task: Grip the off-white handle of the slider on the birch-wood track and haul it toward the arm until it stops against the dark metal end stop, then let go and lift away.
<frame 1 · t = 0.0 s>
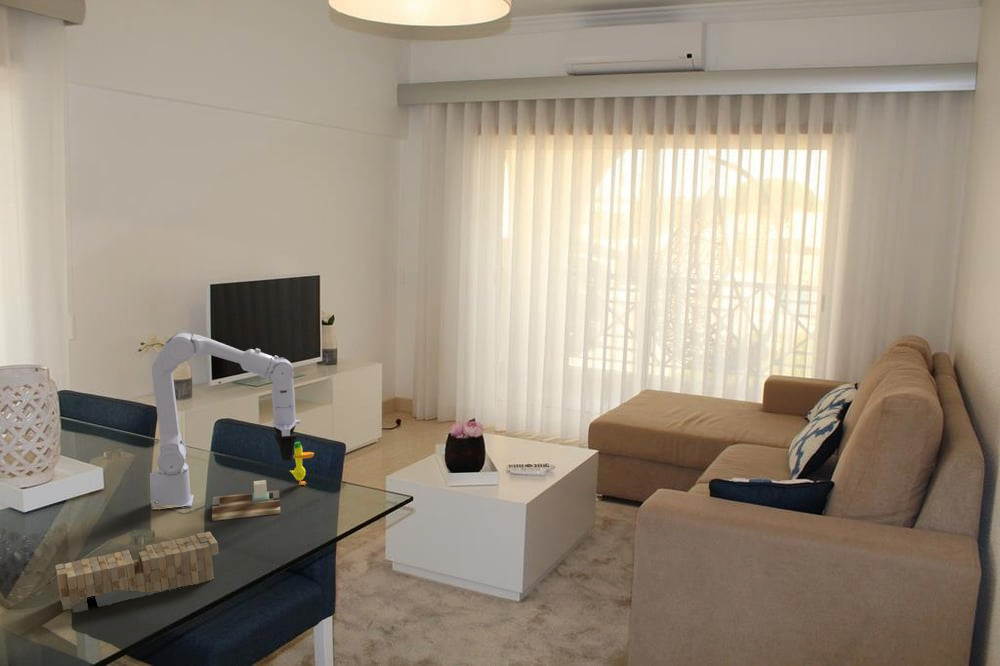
hand: (286, 455, 222), 10 cm above the table, tool pointing down, fingers open, 7 cm apart
toy figure: (303, 485, 229), on the table
track: (247, 508, 212), on the table
slider: (260, 492, 212), point 4 cm above the table, slide at 3.5 cm
block tower: (142, 591, 169), on the table
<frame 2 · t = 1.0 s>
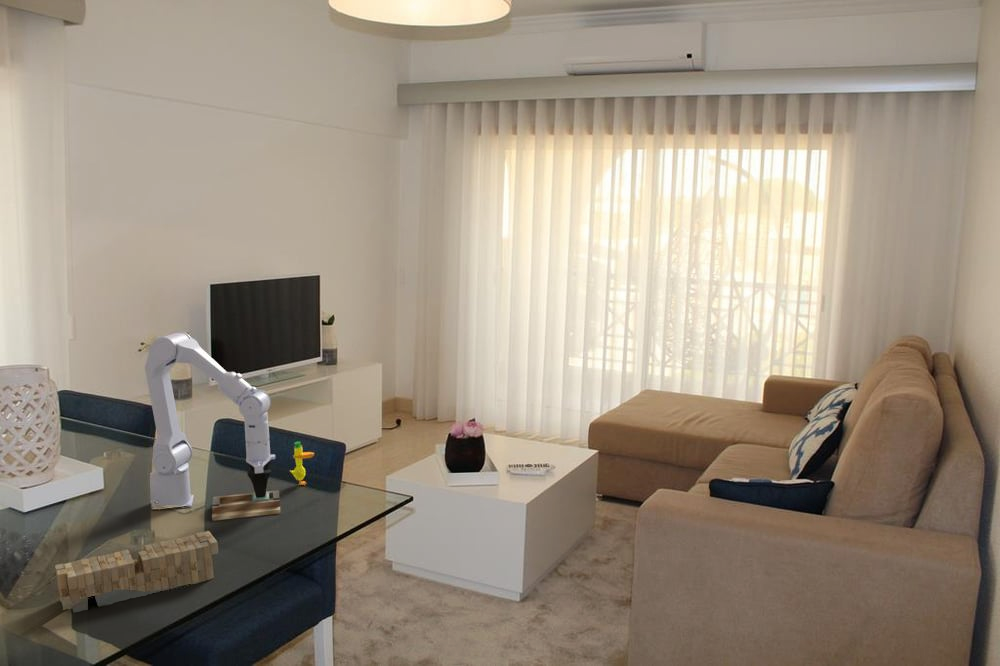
hand: (260, 492, 212), 4 cm above the table, tool pointing down, fingers open, 7 cm apart
nothing on the table moved.
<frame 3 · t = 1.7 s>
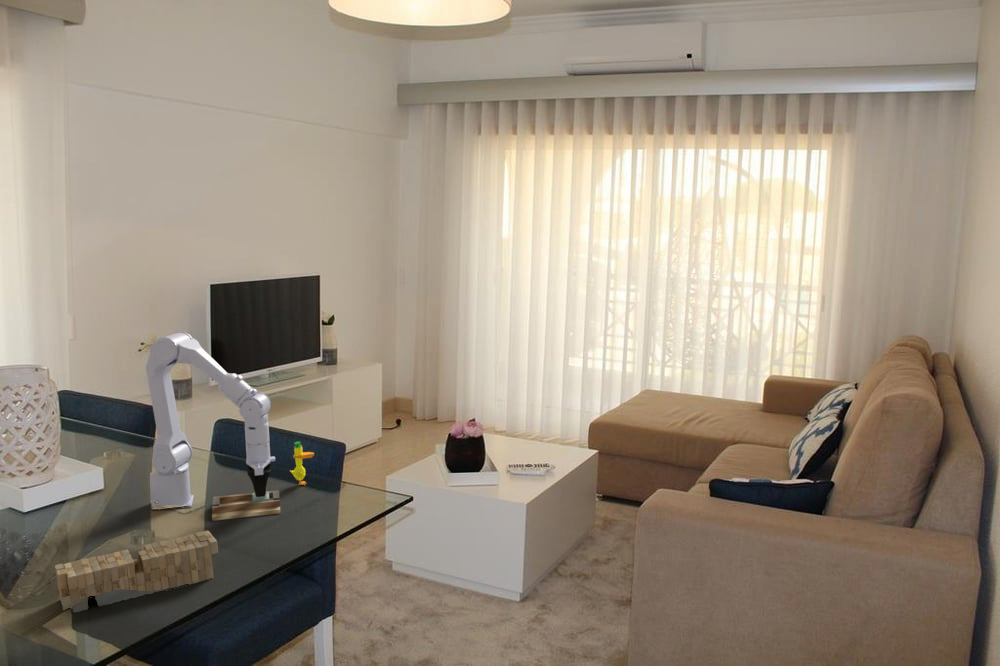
hand: (260, 494, 212), 3 cm above the table, tool pointing down, fingers closed on slider, 3 cm apart
slider: (260, 492, 212), point 4 cm above the table, slide at 3.5 cm, touching gripper
everything else where it was.
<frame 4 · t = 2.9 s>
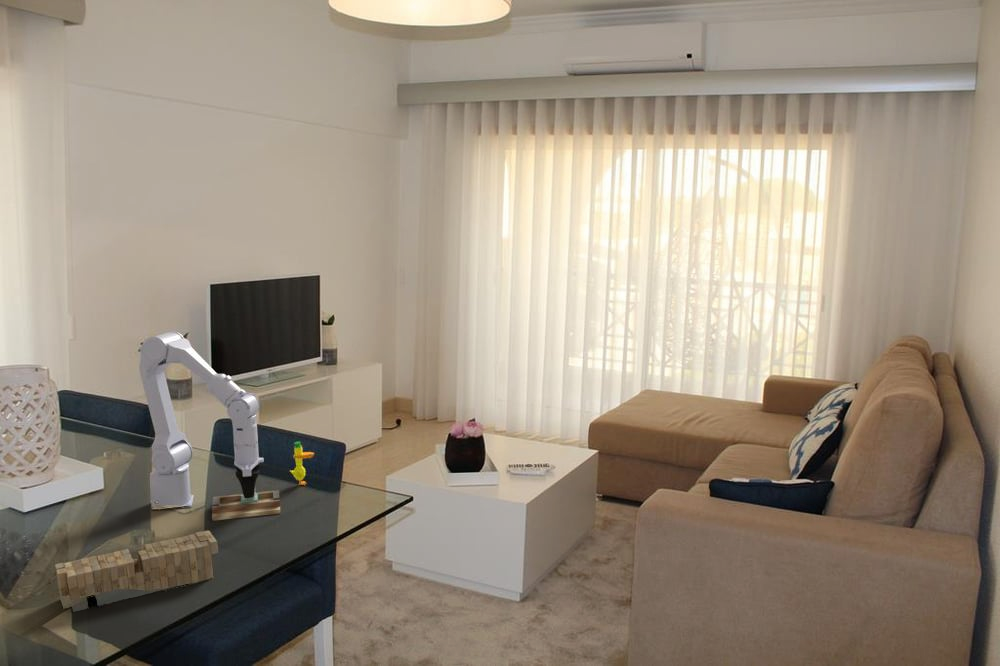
hand: (249, 495, 212), 3 cm above the table, tool pointing down, fingers closed on slider, 3 cm apart
slider: (249, 493, 211), point 4 cm above the table, slide at 0.7 cm, touching gripper
everything else where it was.
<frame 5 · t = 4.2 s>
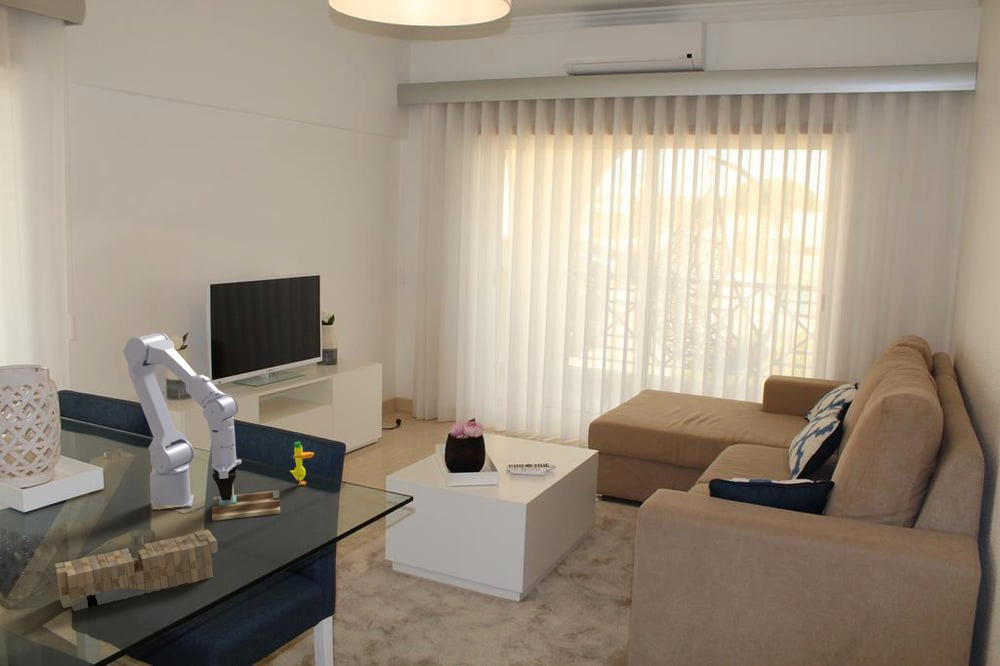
hand: (226, 497, 210), 3 cm above the table, tool pointing down, fingers closed on slider, 3 cm apart
slider: (227, 496, 210), point 4 cm above the table, slide at -4.5 cm, touching gripper, track
everything else where it was.
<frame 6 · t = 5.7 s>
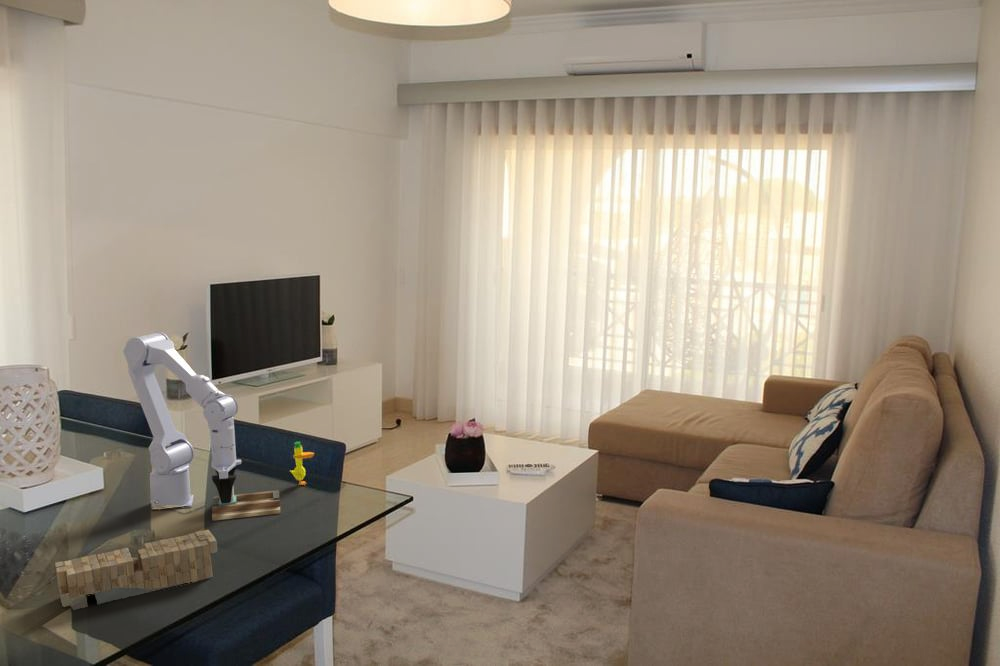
hand: (226, 497, 210), 3 cm above the table, tool pointing down, fingers open, 7 cm apart
slider: (227, 496, 210), point 4 cm above the table, slide at -4.5 cm, touching track
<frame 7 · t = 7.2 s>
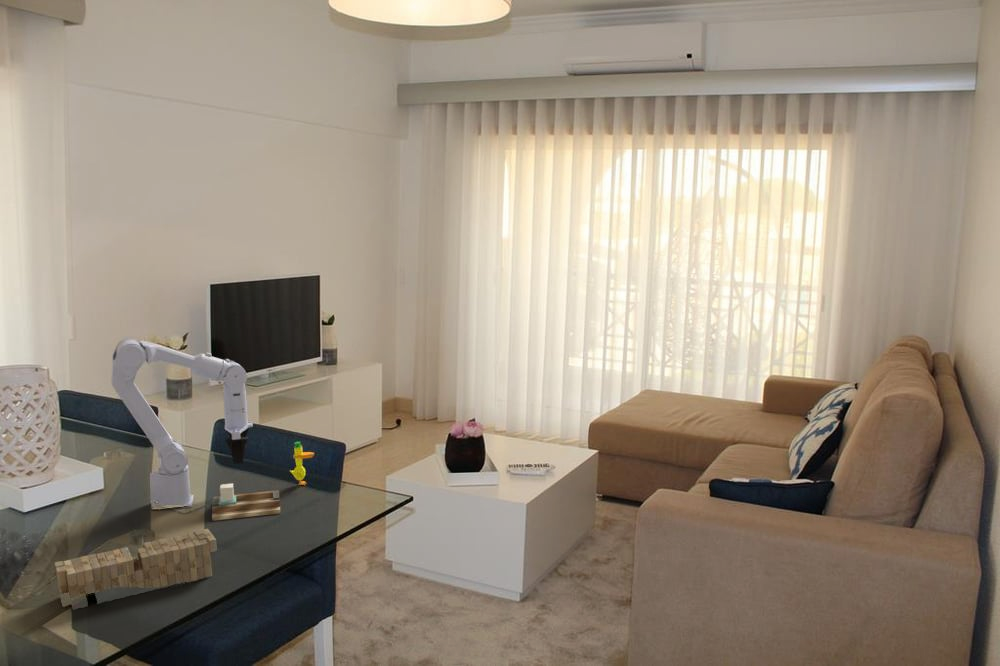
hand: (238, 458, 221), 9 cm above the table, tool pointing down, fingers open, 7 cm apart
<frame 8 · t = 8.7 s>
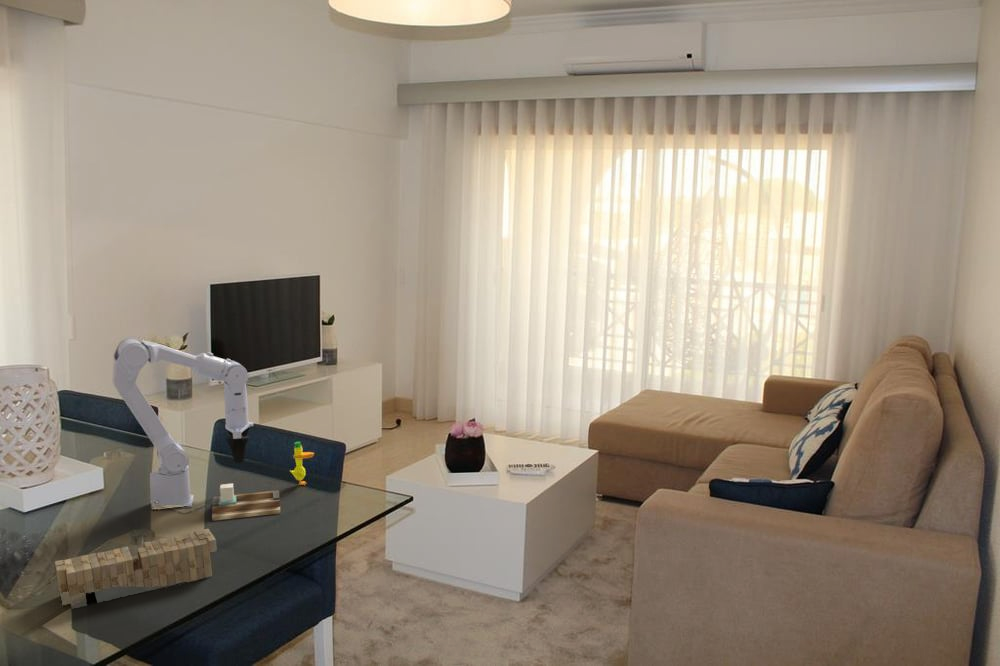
hand: (239, 457, 222), 9 cm above the table, tool pointing down, fingers open, 7 cm apart
at the end: slider slide at -4.5 cm; the gripper is holding nothing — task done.
